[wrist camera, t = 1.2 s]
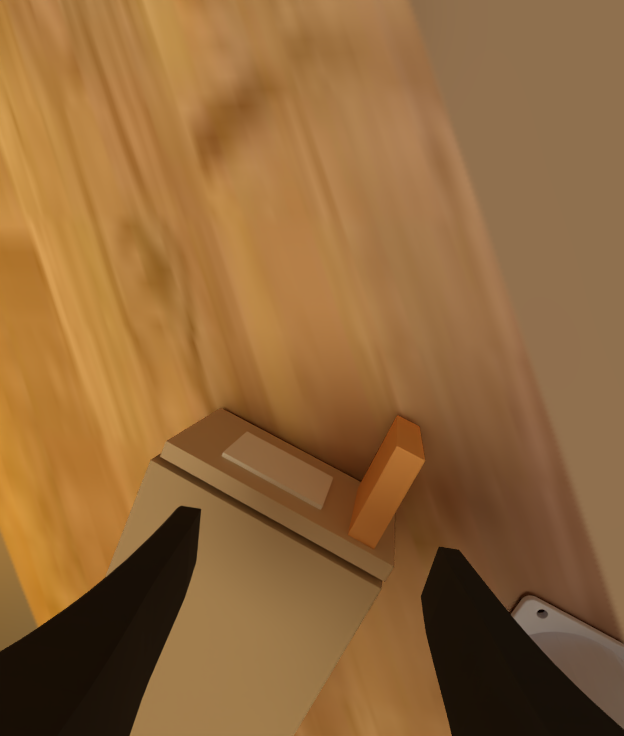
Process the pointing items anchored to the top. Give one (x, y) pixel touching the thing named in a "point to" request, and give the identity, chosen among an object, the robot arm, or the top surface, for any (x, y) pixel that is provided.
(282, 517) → the carton flap
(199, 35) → the top surface
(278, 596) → the kraft carton
